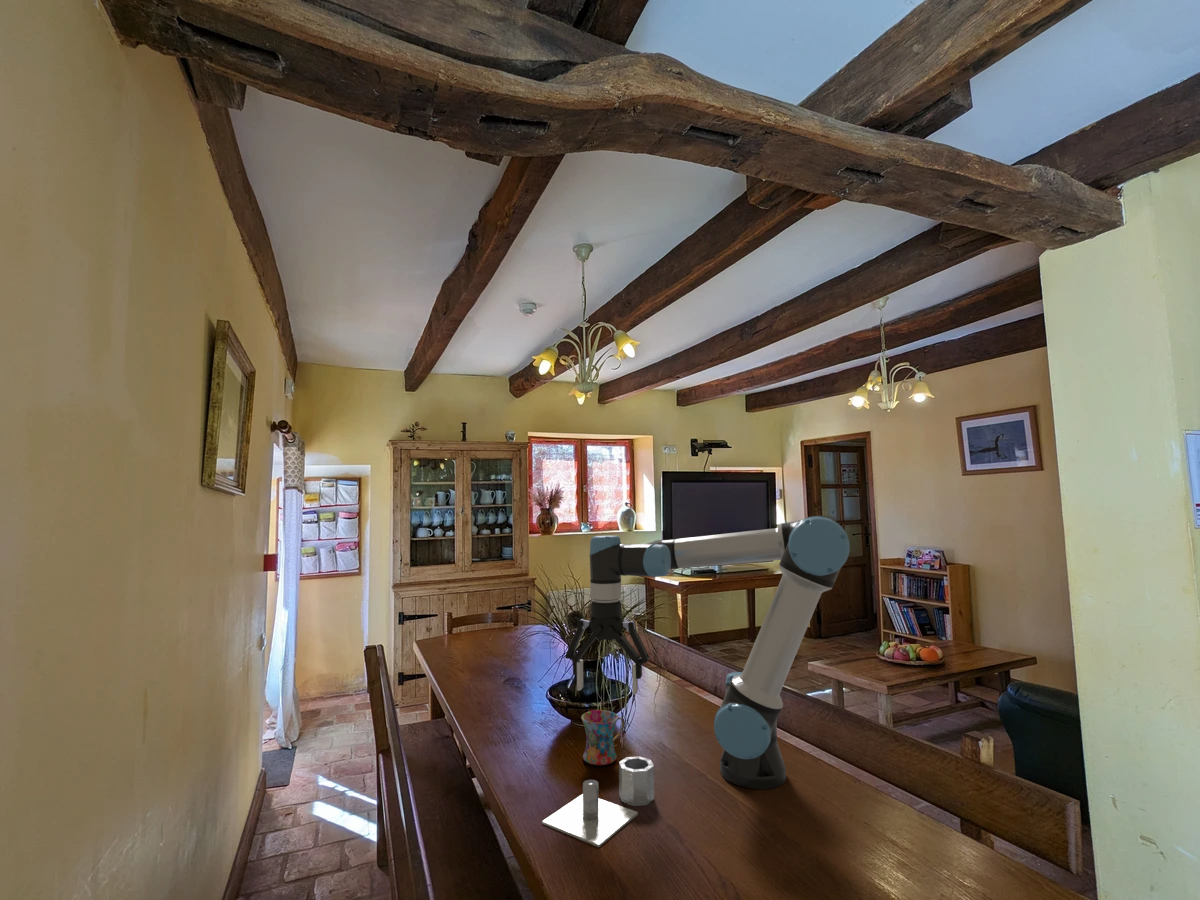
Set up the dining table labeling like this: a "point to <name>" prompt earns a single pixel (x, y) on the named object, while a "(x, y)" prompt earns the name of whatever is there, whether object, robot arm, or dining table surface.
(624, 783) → the grey hollow octagonal block
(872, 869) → the dining table surface
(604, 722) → the mug
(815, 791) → the dining table surface
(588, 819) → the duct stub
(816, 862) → the dining table surface
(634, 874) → the dining table surface
